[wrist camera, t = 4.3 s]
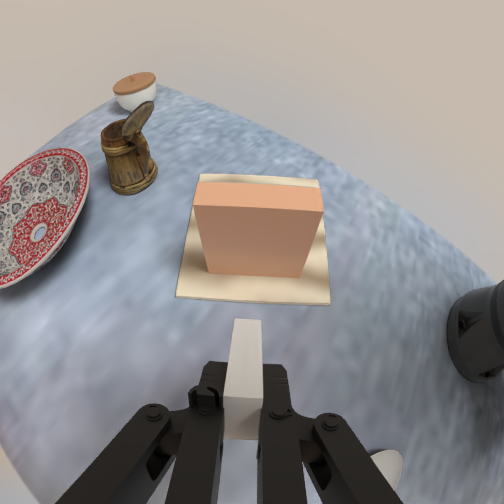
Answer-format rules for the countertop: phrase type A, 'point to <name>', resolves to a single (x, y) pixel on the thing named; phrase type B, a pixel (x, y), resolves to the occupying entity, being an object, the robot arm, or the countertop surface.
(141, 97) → the lidded jar
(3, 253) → the ceramic bowl
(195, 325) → the countertop surface
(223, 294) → the cream cloth
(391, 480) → the spoon
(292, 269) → the ceramic tile
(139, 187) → the wooden mug
